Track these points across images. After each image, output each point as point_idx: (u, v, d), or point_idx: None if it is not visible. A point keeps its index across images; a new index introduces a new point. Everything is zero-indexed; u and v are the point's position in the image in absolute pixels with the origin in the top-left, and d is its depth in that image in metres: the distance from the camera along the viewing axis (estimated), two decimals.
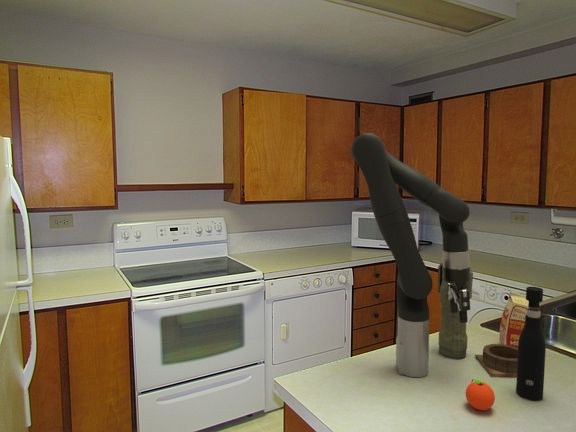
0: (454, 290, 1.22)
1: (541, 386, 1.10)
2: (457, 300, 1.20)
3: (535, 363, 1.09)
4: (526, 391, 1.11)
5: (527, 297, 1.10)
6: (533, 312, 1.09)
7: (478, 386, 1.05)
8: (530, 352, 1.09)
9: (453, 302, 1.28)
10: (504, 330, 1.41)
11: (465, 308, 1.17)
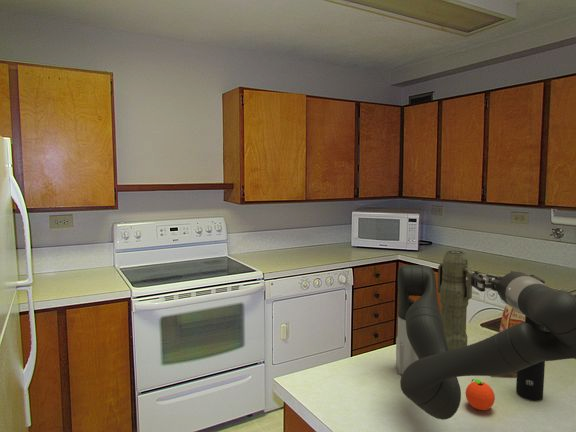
0: None
1: (541, 386, 1.10)
2: None
3: None
4: (526, 391, 1.11)
5: None
6: None
7: (478, 386, 1.05)
8: None
9: None
10: None
11: None
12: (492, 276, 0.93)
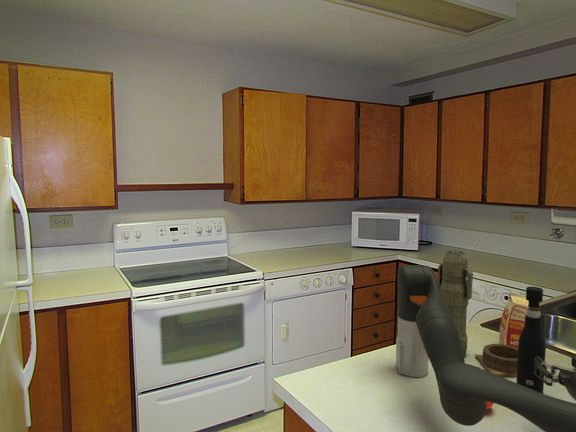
0: None
1: (541, 386, 1.10)
2: None
3: None
4: None
5: (527, 297, 1.10)
6: (533, 312, 1.09)
7: None
8: (530, 351, 1.09)
9: None
10: (504, 330, 1.41)
11: None
12: (558, 368, 0.93)
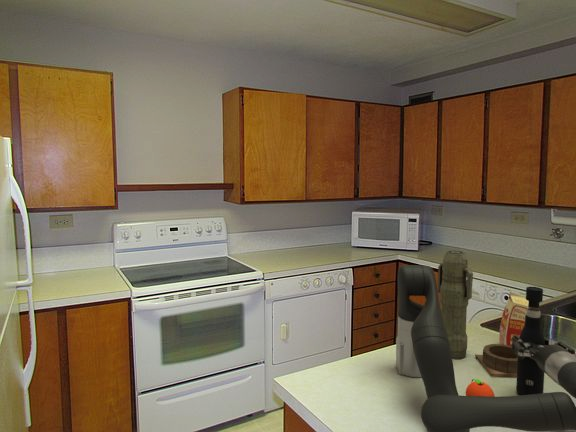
0: None
1: (541, 386, 1.10)
2: None
3: (535, 363, 1.09)
4: (526, 391, 1.11)
5: (527, 297, 1.10)
6: (533, 312, 1.09)
7: (478, 386, 1.05)
8: None
9: None
10: (504, 330, 1.41)
11: None
12: (530, 344, 1.06)
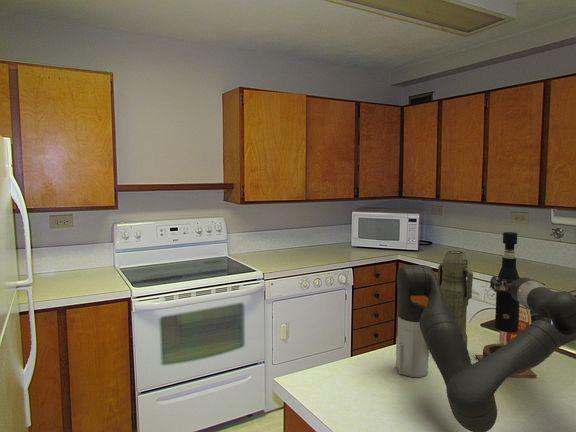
0: None
1: (516, 319, 1.24)
2: None
3: (510, 298, 1.23)
4: (503, 324, 1.25)
5: (503, 240, 1.24)
6: (509, 253, 1.24)
7: None
8: None
9: None
10: None
11: None
12: (506, 280, 1.21)
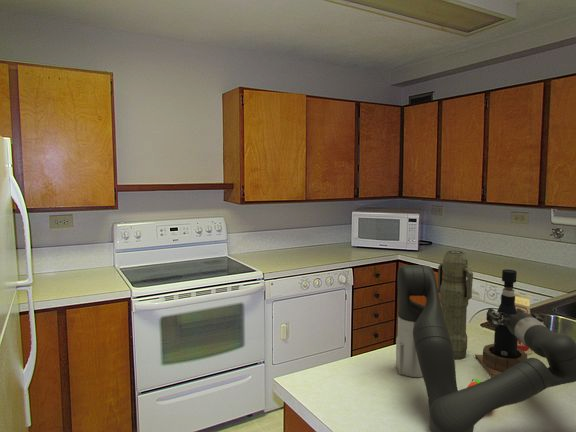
0: None
1: (514, 356, 1.25)
2: None
3: (509, 336, 1.24)
4: None
5: (503, 278, 1.25)
6: (508, 291, 1.25)
7: None
8: (505, 326, 1.24)
9: None
10: None
11: None
12: (503, 314, 1.22)
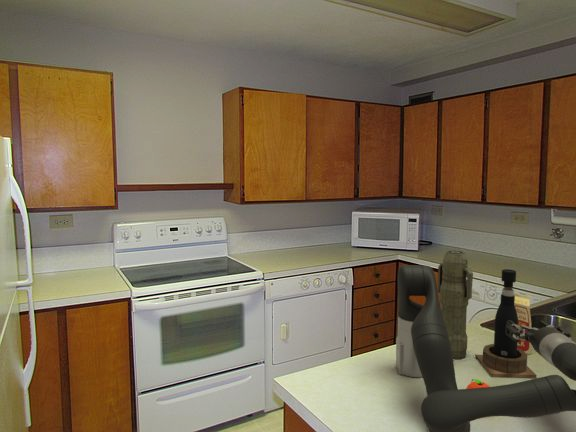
0: None
1: (514, 356, 1.25)
2: None
3: None
4: None
5: (502, 278, 1.26)
6: (507, 291, 1.25)
7: (478, 386, 1.05)
8: (505, 326, 1.25)
9: None
10: None
11: None
12: (525, 328, 1.08)
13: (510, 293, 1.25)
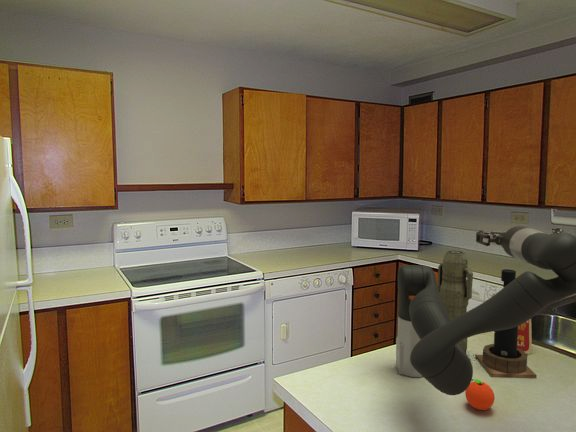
0: None
1: (514, 356, 1.25)
2: None
3: (508, 336, 1.24)
4: None
5: (502, 278, 1.26)
6: None
7: (478, 386, 1.05)
8: None
9: None
10: None
11: None
12: (496, 232, 1.00)
13: None
